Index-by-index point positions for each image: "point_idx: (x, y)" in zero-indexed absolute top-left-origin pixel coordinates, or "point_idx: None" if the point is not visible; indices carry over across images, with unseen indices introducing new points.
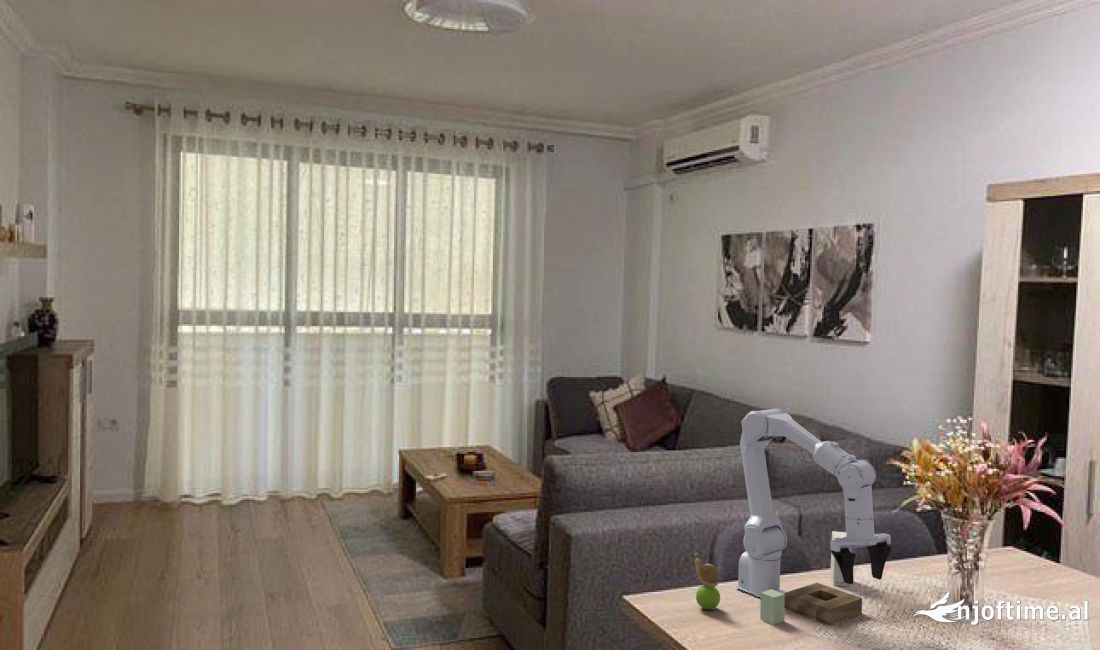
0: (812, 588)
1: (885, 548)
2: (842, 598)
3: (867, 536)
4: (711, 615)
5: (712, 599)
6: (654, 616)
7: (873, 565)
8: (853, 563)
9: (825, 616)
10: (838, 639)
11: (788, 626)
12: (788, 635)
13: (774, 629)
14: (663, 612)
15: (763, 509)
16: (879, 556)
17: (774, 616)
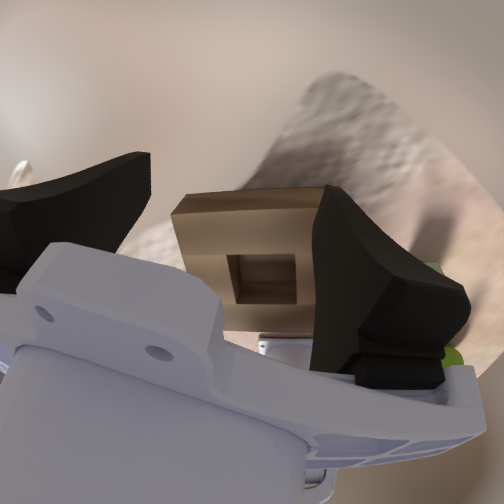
0: (247, 317)
1: (1, 207)
2: (229, 241)
3: (134, 464)
4: (461, 333)
5: (459, 358)
6: (498, 354)
7: (120, 223)
8: (364, 241)
9: None
10: (403, 117)
11: (424, 239)
12: (467, 209)
13: (458, 245)
14: (482, 359)
15: None
16: (73, 216)
17: (441, 273)
